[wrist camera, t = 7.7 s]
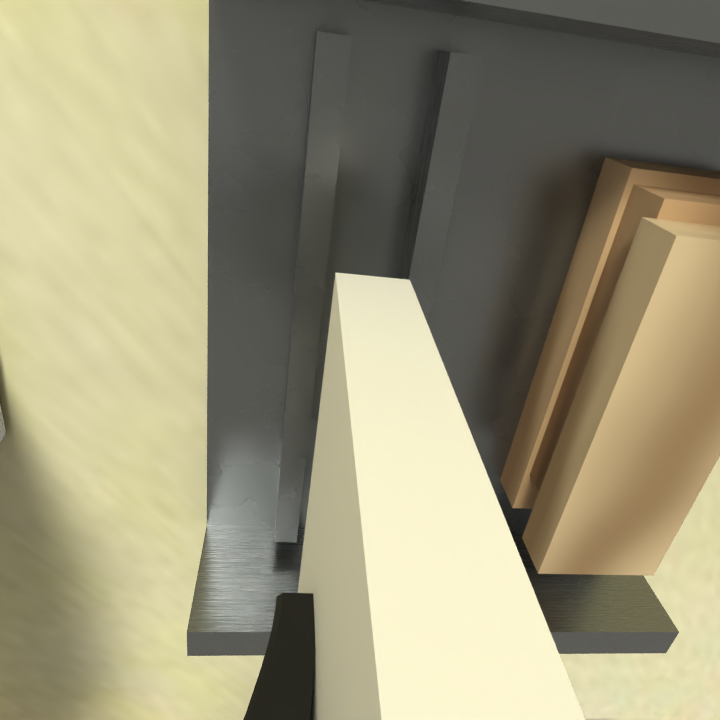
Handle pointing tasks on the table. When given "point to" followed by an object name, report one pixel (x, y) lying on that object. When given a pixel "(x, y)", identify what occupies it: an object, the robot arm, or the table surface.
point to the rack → (416, 241)
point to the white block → (413, 538)
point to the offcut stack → (625, 378)
